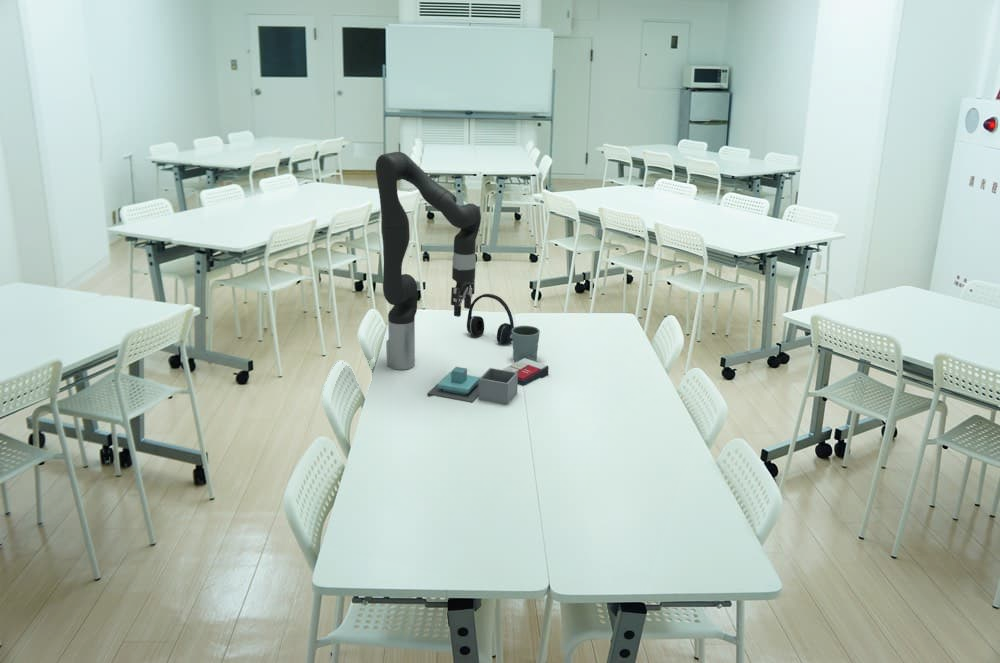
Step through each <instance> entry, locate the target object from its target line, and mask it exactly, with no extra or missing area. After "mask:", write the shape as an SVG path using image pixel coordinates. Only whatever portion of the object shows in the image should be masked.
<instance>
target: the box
mask: <svg viewBox="0 0 1000 663" xmlns="http://www.w3.org/2000/svg"><path fill="white" fill-rule="evenodd" d="M479 377H480V379H479V396H478V400H479V401H483V402H488V403H489V402H490V403H494V404H499V405H500V404H501V405H505V406H508V405H509V404H510V403H511V401H513V399H514V398H515V396H517V394H518V386H519V384H518V373H517V372H512V371H506V370H503V369H499V368H493V367H489V368H488V369H487V370H486V371H485V372H484V373H483V375H481V376H479Z"/></svg>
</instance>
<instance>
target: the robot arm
mask: <svg viewBox="0 0 1000 663" xmlns="http://www.w3.org/2000/svg"><path fill="white" fill-rule="evenodd" d="M375 176H376V183H377V187H378V194H379V205H380V213H381V214H380V216H381V231H382V232H381V236H382V246H383V248H382V251H383V273H382V274H383V276H382V291H383V292H382V293H383V296H384V298H385V300H386V301H387V303H388V304H390V305H392V306H393V307H392V308H391V309H390V310H389V311H388V313H387V314H388V315H387V319H388V320H387V321H388V322H387V324H388V325H387V326H388V327H387V328H388V339H387V340H386V367H390V368H391V369H393V370H398V371H399V370H401V371H405V370H409V369H413V368H414V367H415V366H416V363H415V362H416V359H415V358H416V335H415V334H416V333H415V323H416V322H415V319H416V318H415V317H416V315H417V312H418V311H417V310H418V297H419V296H418V292H419V291H418V290H419V289H418V284H417V281H416V280H415V278H414V277H413V276H412V275H410V274H407V273H404V274H403V273H402V268H403V262H404V258H405V255H406V253H407V249H408V247H409V243H410V233H411V232H410V221H409V217H408V215H407V213H406V210H405V209H404V206H403V205H402V204H401V202H400V199H399V196H398V181H401V180H403V181H405V182H408V183H409V184H412V185H413V186H414V187H415V188H416V189H417V190H418V192H419V193H420V195H421V196H422V198H423V200H424V201H425V202H426V203H427V204H429V205H430V206H431V207H433V208H434V209H436V210H437V211H438V212H440V213H441V214H442V215H443V217H444V218H445V219H446V220H447V221H448V222H449V224H451V225H452V226H453V227H455V228H457V229H460V230H459V232H458V233H457V234H456V235H454V238H453V256H452V265H451V266H452V269H451V270H452V271H451V272H452V273H451V274H452V275H451V278H452V281H455V283H456V284H455V287H451V292H450V294H451V295H450V306H453V316H454V317H458V318H459V317H461V316H462V304H463V307H464V309H466V310H467V309H468V310H469V309H470V308H471V304H472V298H473V295H475V288H476V286H475V283H476V282H475V281H476V265H477V264H476V262H477V261H476V260H477V257H476V240H477V237H478V233H479V230H480V227H481V222H482V221H481V219H482V214H481V210H480V208H479V206H477V204H475V203H466V204H463V205H459V204H458V203H457V202H458V198H457V196H456V195H455V194H454V193H452V192H451V191H449V190H448V189H447V188H445V187H444V186H442V185H441V184H439V183H438V182H436V181H435V180H434V179H432V177H430V176H429V174H427V173H426V172H425V171H424V170H423V169H422V168H420V166H419V165H418V164H416V162H414V160H413V159H411V157H410V156H408V155H407V154H406V153H404V152H402V151H394V152H388V153H383V154H380V155H379V156H378V157H377V159H376V162H375Z"/></svg>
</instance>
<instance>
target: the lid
mask: <svg viewBox="0 0 1000 663" xmlns="http://www.w3.org/2000/svg"><path fill="white" fill-rule="evenodd" d="M446 375H447V376H446ZM446 375H445V376H446V377H445V376H444V377H445V378H444V377H443V378H442V379H441V380H440V381H439V382H438V383H437V384H436V385H437V388H443V391H447V392H453V393H458V394H464V395H466V394H467V393H469V392H470V391H471V390H472V389H473V388H474V387H475V385H476V384H477V383H478V382H479V379H480V377H481V376H474V375H470V374H468V368H467V367H461V366H455V367H454V368H453V369H451V371H450V372H449V373H448V374H446Z"/></svg>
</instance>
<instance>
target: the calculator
mask: <svg viewBox="0 0 1000 663" xmlns="http://www.w3.org/2000/svg"><path fill="white" fill-rule="evenodd" d="M502 370H506V371H512V372H517V373H518V386H519V385H520V386H522V387H524V386H526V385H528V384H530V383H532V382H534V381H536V380H538V379H544V378H545V377H547V376H549V365H547V364H545V363H541V362H538V361H536V362H535V361H532V360H529V359H526V358H524V359H522V360H520V361H517V362H514V363H511V364H510V365H508V366H506V367H505V368H503V369H502Z"/></svg>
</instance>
